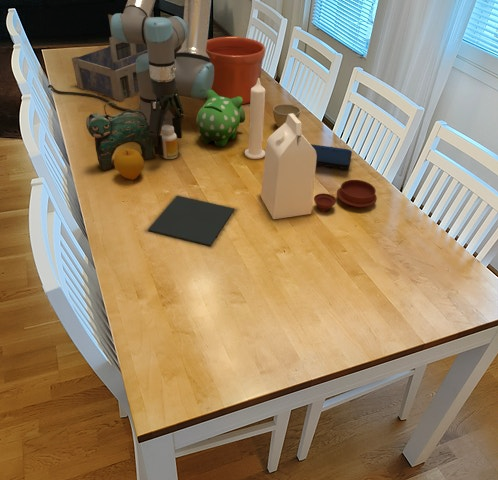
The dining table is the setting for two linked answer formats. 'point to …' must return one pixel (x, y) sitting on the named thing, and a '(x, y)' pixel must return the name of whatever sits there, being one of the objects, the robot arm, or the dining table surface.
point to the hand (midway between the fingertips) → (168, 145)
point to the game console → (332, 157)
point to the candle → (256, 122)
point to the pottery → (349, 195)
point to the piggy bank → (220, 118)
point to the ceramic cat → (118, 134)
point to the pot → (235, 65)
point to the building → (110, 69)
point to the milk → (288, 171)
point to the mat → (192, 220)
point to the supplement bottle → (169, 142)
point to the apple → (129, 163)
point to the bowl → (284, 113)
